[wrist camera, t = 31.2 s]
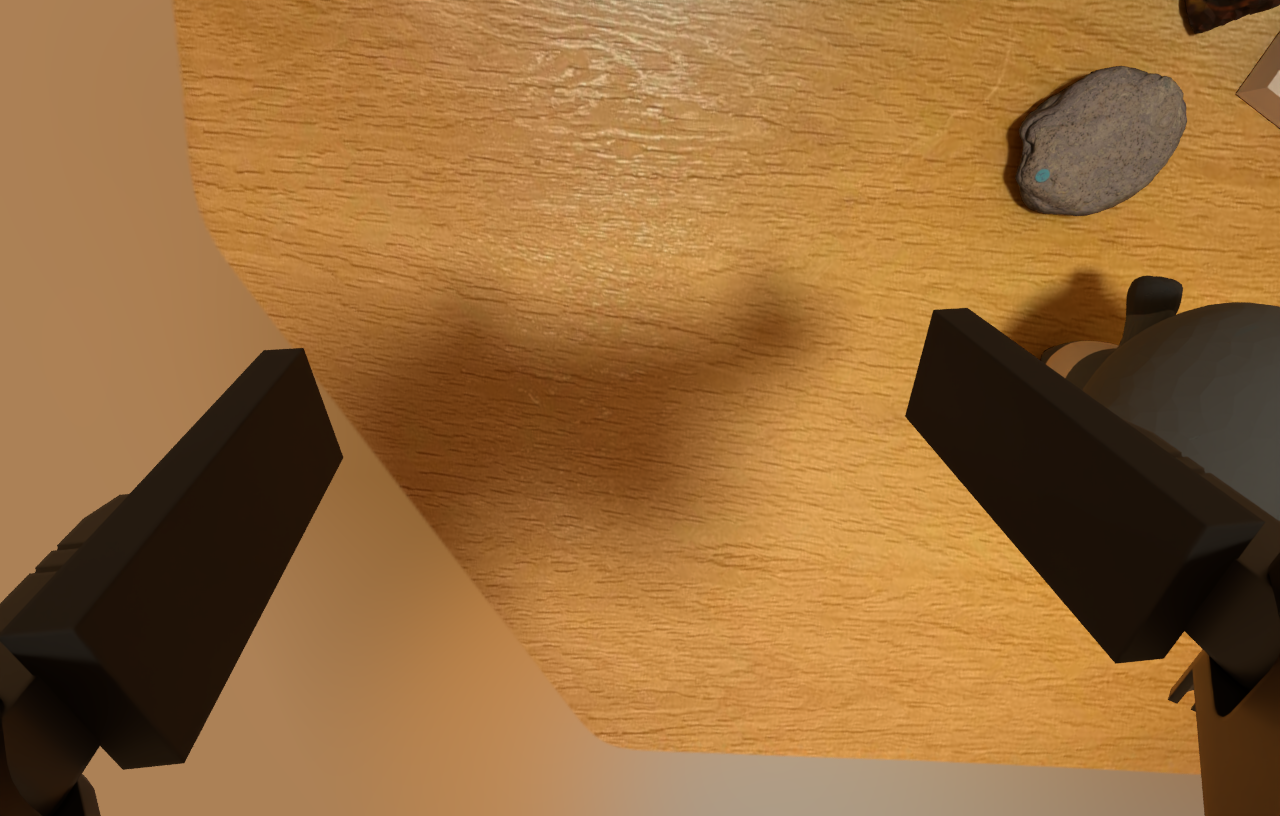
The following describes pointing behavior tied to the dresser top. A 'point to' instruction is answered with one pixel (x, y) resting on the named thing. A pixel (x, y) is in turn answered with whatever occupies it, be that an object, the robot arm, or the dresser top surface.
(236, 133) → the dresser top surface
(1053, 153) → the stone
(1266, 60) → the plaque
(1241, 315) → the toy
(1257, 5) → the candle
